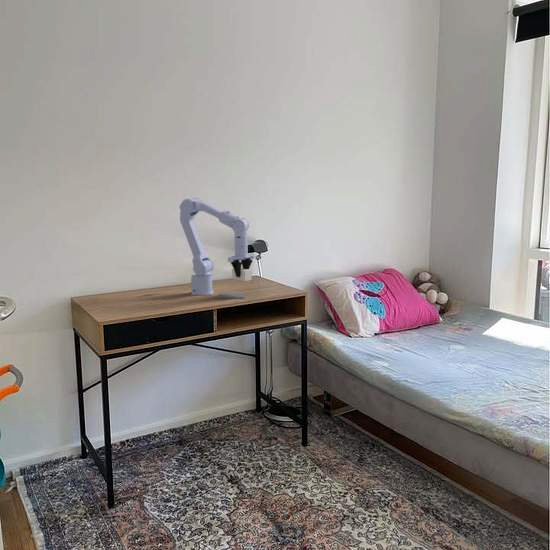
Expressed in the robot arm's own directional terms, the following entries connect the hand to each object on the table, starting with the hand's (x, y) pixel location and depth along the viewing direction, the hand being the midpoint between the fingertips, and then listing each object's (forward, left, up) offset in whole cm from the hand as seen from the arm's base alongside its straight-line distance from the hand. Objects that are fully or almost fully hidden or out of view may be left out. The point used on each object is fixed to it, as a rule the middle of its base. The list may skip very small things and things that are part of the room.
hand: (241, 276), depth 246 cm
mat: (-5, -2, -9) cm, 10 cm away
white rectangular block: (0, 0, -2) cm, 2 cm away
